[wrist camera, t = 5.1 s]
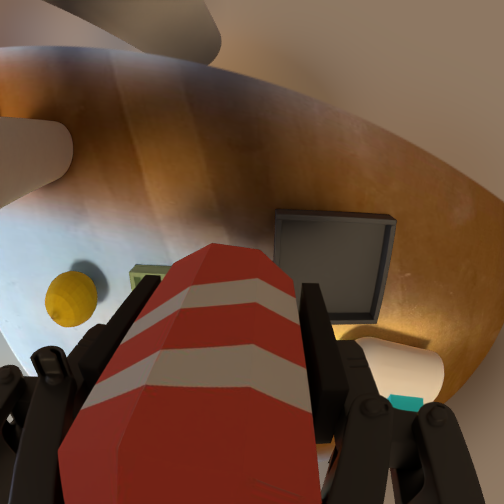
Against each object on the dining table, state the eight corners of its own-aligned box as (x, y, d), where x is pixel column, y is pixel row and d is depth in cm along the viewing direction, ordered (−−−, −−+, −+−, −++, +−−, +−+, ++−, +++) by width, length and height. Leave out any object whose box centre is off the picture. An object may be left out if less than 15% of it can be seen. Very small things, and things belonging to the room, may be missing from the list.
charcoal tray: (275, 208, 28) (276, 214, 26) (389, 214, 28) (397, 220, 26) (270, 313, 32) (270, 324, 30) (371, 314, 32) (376, 323, 30)
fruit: (62, 273, 32) (22, 306, 24) (88, 250, 30) (47, 283, 23) (89, 310, 33) (56, 349, 26) (118, 291, 32) (84, 332, 25)
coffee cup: (101, 149, 27) (-12, 173, 13) (52, 212, 29) (-46, 265, 15) (53, 89, 24) (-56, 85, 10) (11, 154, 27) (-88, 181, 13)
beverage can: (285, 358, 16) (292, 591, 4) (165, 340, 16) (79, 551, 4) (310, 251, 14) (392, 552, 2) (166, 231, 14) (-26, 463, 2)
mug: (358, 402, 23) (449, 411, 24) (357, 318, 30) (439, 340, 31) (303, 430, 32) (385, 438, 32) (309, 364, 38) (384, 379, 39)
